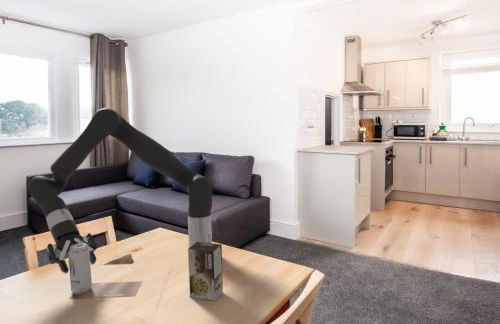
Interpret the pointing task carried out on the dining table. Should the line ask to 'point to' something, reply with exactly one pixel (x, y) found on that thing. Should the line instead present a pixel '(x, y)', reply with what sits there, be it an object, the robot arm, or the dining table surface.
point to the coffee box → (205, 270)
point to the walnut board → (110, 290)
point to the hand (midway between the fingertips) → (80, 267)
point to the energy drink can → (80, 268)
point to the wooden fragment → (121, 260)
